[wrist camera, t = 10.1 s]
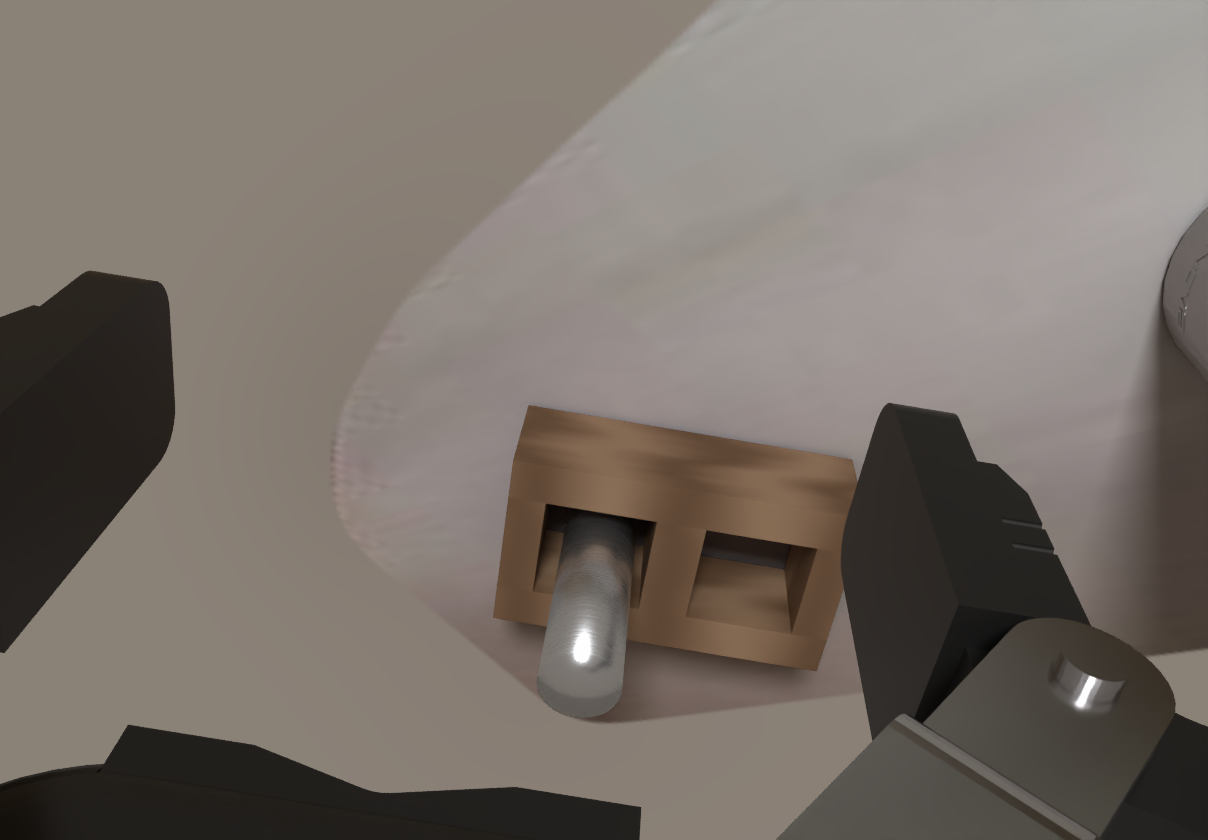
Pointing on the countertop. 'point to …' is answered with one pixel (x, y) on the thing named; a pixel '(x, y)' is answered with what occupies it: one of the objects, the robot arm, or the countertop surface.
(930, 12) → the countertop surface
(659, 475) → the hole block
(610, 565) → the peg
